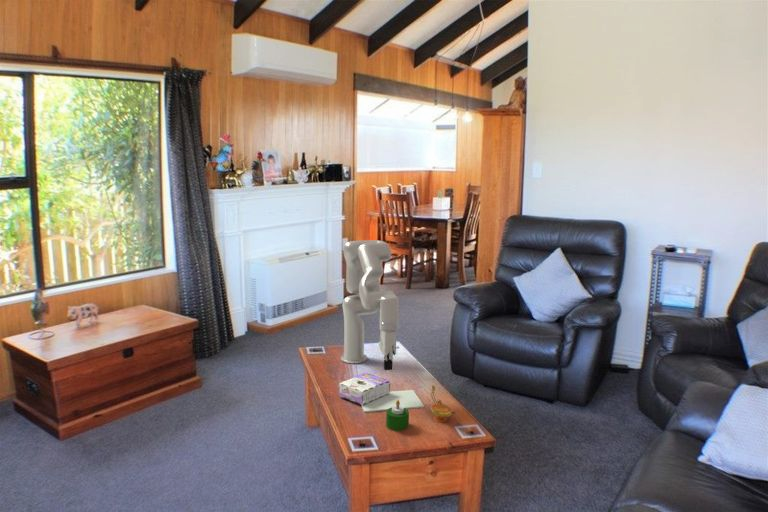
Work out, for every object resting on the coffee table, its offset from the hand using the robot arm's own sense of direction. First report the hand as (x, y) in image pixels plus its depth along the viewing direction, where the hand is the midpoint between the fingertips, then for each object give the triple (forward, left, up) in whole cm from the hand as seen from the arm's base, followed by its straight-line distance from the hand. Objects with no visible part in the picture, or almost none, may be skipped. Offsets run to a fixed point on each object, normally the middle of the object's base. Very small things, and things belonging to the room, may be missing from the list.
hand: (388, 369), depth 237 cm
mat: (+4, 0, -12) cm, 13 cm away
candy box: (-8, -2, -9) cm, 12 cm away
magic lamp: (+24, +16, -12) cm, 31 cm away
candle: (+25, -2, -12) cm, 28 cm away
